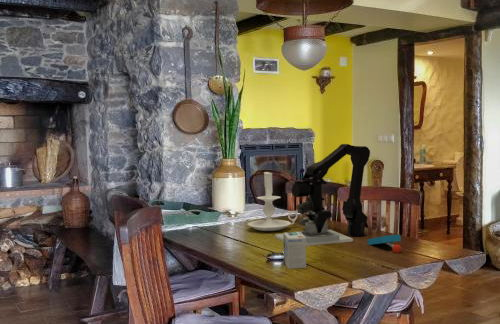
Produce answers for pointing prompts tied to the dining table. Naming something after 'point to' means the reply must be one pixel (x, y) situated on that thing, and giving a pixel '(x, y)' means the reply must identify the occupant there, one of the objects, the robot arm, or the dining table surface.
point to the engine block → (314, 228)
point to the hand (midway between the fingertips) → (316, 231)
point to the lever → (388, 240)
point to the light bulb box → (294, 250)
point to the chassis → (322, 238)
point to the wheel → (303, 221)
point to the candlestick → (270, 210)
